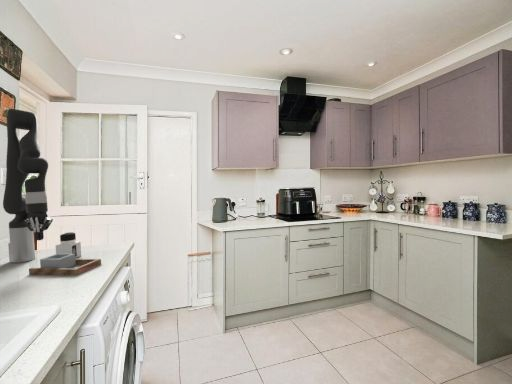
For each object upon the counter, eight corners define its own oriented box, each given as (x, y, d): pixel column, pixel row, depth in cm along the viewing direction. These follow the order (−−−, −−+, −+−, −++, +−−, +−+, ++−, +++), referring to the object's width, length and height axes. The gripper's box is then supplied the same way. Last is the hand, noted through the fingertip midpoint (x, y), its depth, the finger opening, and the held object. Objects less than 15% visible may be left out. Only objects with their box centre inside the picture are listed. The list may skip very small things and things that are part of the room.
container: (81, 255, 142) (80, 231, 141) (70, 260, 134) (68, 234, 134) (68, 255, 143) (66, 231, 142) (55, 260, 135) (54, 234, 134)
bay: (29, 274, 114) (28, 268, 114) (58, 263, 129) (58, 258, 129) (76, 275, 111) (76, 269, 111) (101, 264, 126) (100, 258, 126)
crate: (40, 272, 116) (40, 259, 116) (58, 266, 125) (57, 253, 125) (59, 273, 115) (58, 259, 115) (75, 266, 124) (75, 253, 124)
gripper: (14, 203, 117) (18, 242, 118) (42, 202, 116) (45, 241, 117) (30, 201, 125) (34, 238, 126) (56, 200, 123) (59, 237, 124)
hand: (39, 239), depth 121 cm, fingers closed
